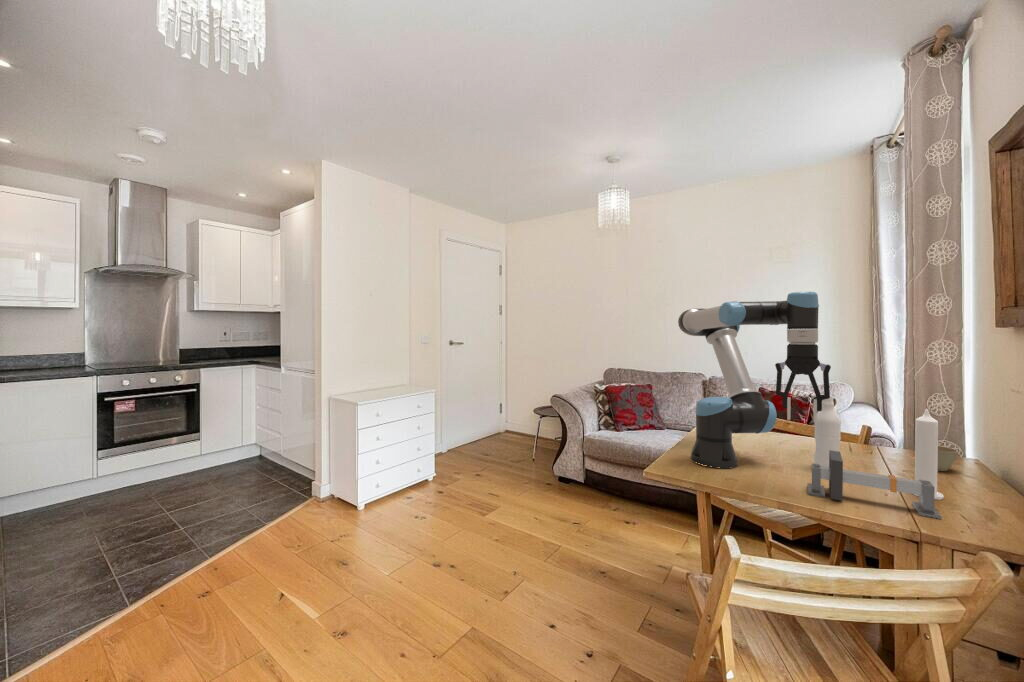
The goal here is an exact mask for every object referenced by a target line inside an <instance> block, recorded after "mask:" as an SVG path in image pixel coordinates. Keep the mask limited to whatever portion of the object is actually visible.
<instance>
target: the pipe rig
mask: <svg viewBox="0 0 1024 682" xmlns="http://www.w3.org/2000/svg"><path fill="white" fill-rule="evenodd" d="M821 480H827V481H829V480H831V467H826V466H820V465H819V464H815V463H811V483H809V482H807V485H806V486H807V495H810V496H815V497H820V498H826V492H825V491H826V489H825V485H822V484H821V482H822V481H821ZM843 483H845V484H850V485H856V486H857V485H858V486H863V487H868V488H869V487H870V488H875V489H881V490H887V491H890V493H896V494H897V493H905V494H910V495H913V494H916V495H919V496H918V501H912V502H911V505H912V506H913V508H914V510H915V509H916V510H915V511H916V514H917V515H918V514H919V515H918V516H920V515H922V516H921V517H925V516H927V517H926V518H931V517H933V518H932V519H936V518H938V519H937V520H942V515H941V514H940V513H939V511H938V510H937V508H936V507H935V499H934V489H935V487H934V486H933V485H932V484H931V482H930V481H925V480H919V481H918V480H915V479H910V478H905V477H899V476H895V475H893V474H888V475H884V474H878V473H872V472H865V471H859V470H851V469H847V468H843ZM916 495H915V496H916Z"/></svg>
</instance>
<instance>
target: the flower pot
mask: <svg viewBox="0 0 1024 682" xmlns="http://www.w3.org/2000/svg"><path fill="white" fill-rule="evenodd" d="M958 455H959V451H958V450H957V449H955V448H952V447H949V446H943V445H938V466H937V472H948V470H950V469H951V468H952V466H953V465H954V464H955V462H956V460H957V458H958Z"/></svg>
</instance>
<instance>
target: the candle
mask: <svg viewBox="0 0 1024 682" xmlns="http://www.w3.org/2000/svg"><path fill="white" fill-rule="evenodd" d="M914 427H915V429H914V430H915V435H914V436H915V437H914V439H915V442H914V480H918V481H919V480H925V481H930V482H931V484H932V485H933V486H934V487H935V489H934V500H937V501H938V500H943V499H944V496H945V495H944V494H943V493H941V492H938V471H937V466H938V446H939V421H938V420H937V419H935V418H934V417H932V416H931V414H930V411H929V409H928V408H925V410H924V412H923V414H922V415H921V416H919V417H917V418H915V426H914ZM912 495H914V496H916V497H919V495H916V494H912Z"/></svg>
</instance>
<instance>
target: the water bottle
mask: <svg viewBox="0 0 1024 682" xmlns="http://www.w3.org/2000/svg"><path fill="white" fill-rule="evenodd" d="M834 405H835V403H834V397H833V396H830V398H829V399H824V400H822V410H821V411H817V423H815V422H814V433H813V437H814V440H815V449H814V454H813V462H814V463H813V464H819V465H820V466H826V467H829V450H831V451H839V452H840V443H841V441H842V437H841V425H842V421H841V418H840V416H839V414H838V413H837V411H836V410H835V407H834Z"/></svg>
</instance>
